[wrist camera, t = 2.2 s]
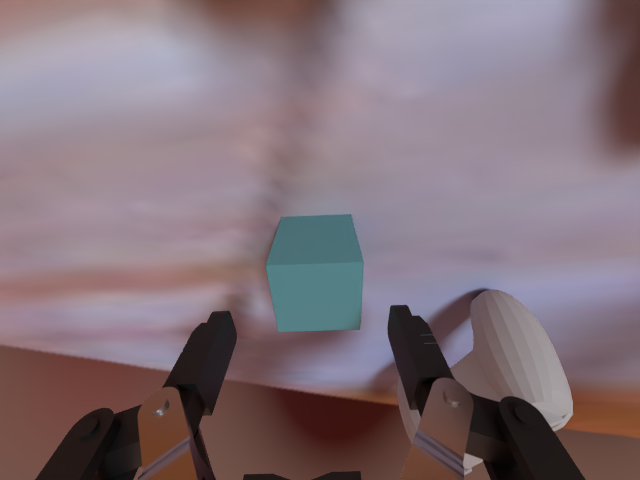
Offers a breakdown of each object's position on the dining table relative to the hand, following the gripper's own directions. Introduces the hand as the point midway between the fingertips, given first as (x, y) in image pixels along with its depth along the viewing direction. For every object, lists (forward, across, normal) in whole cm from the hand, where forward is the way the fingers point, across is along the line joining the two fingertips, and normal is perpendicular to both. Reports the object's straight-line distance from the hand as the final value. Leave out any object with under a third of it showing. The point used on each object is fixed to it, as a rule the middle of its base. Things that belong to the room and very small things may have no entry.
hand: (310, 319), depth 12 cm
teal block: (+8, 0, 0) cm, 8 cm away
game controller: (+8, -11, +10) cm, 17 cm away
